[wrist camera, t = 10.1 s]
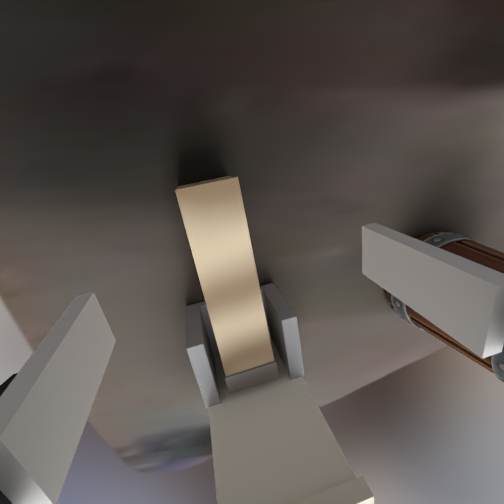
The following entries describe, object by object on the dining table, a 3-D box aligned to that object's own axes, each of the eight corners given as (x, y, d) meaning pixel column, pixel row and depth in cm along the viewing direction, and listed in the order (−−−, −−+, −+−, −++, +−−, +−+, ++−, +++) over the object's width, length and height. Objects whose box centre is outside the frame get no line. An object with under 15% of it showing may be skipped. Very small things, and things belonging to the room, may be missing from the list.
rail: (176, 186, 21) (172, 190, 16) (228, 175, 22) (239, 176, 17) (221, 352, 26) (229, 393, 21) (263, 340, 27) (279, 377, 22)
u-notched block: (185, 306, 25) (184, 493, 11) (274, 282, 26) (373, 422, 12) (212, 395, 29) (237, 613, 15) (288, 371, 30) (374, 550, 16)
